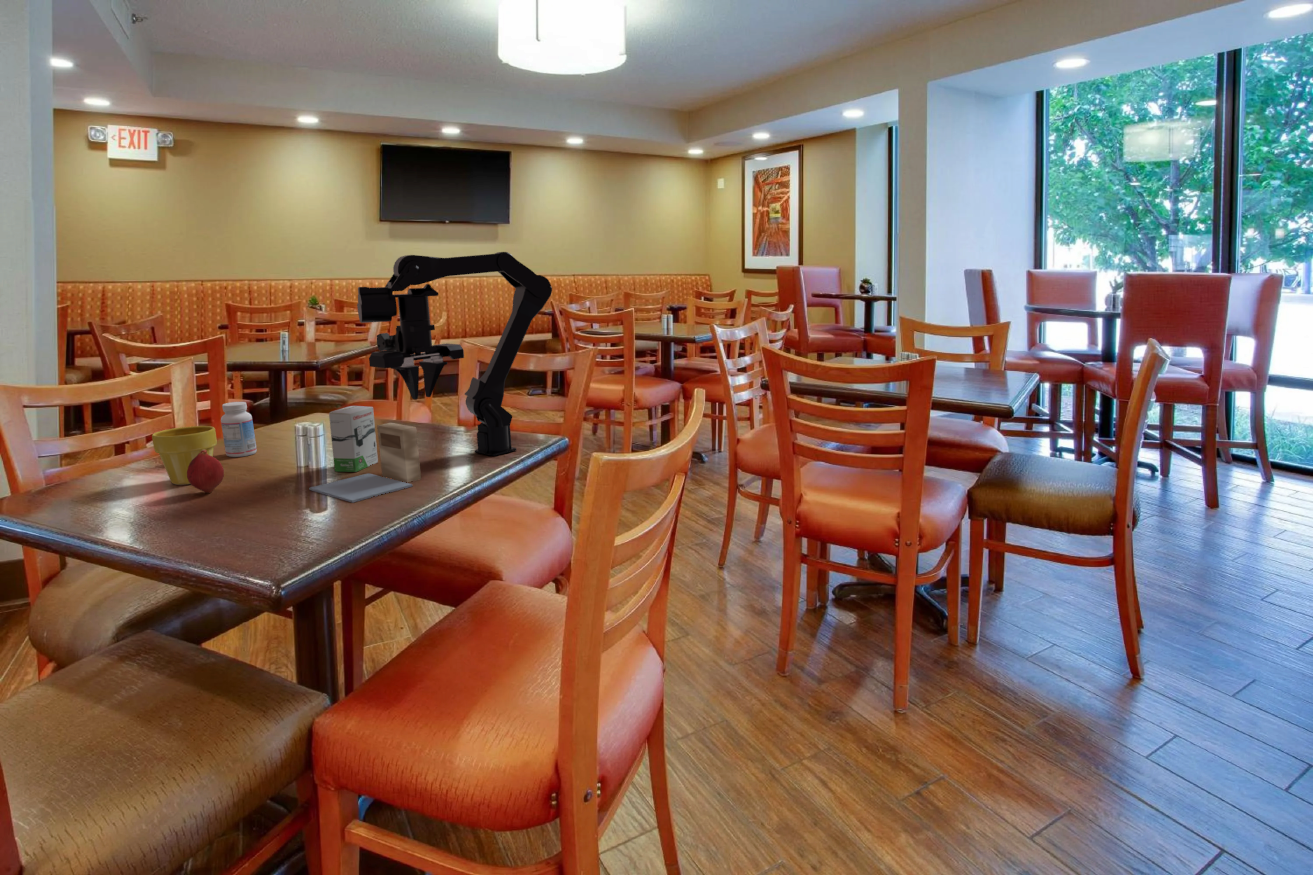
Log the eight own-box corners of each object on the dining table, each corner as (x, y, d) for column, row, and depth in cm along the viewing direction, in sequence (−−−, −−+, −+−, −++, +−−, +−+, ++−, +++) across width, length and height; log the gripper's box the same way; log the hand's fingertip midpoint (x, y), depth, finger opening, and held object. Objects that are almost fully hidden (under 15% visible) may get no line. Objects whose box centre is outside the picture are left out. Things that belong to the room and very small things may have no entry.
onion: (189, 499, 141) (182, 455, 140) (190, 491, 146) (184, 448, 145) (226, 494, 144) (220, 450, 142) (226, 486, 149) (220, 444, 147)
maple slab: (395, 473, 156) (390, 422, 154) (421, 479, 151) (416, 427, 149) (381, 476, 153) (376, 425, 151) (406, 483, 149) (401, 430, 146)
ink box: (356, 472, 157) (349, 413, 154) (333, 472, 158) (326, 412, 155) (379, 461, 165) (374, 405, 162) (358, 461, 166) (352, 404, 163)
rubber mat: (368, 475, 155) (368, 473, 154) (412, 486, 146) (412, 484, 146) (309, 489, 145) (309, 487, 145) (352, 502, 137) (352, 500, 137)
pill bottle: (250, 449, 179) (244, 400, 176) (261, 453, 175) (254, 402, 172) (221, 454, 175) (214, 404, 172) (231, 459, 170) (224, 407, 168)
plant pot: (176, 474, 159) (169, 426, 156) (231, 472, 159) (224, 424, 157) (148, 489, 149) (140, 437, 146) (207, 486, 149) (199, 435, 147)
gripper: (429, 316, 171) (435, 388, 174) (349, 322, 156) (357, 401, 160) (462, 317, 164) (468, 392, 167) (382, 324, 150) (390, 406, 153)
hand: (421, 398), depth 162 cm, fingers open, 3 cm apart
